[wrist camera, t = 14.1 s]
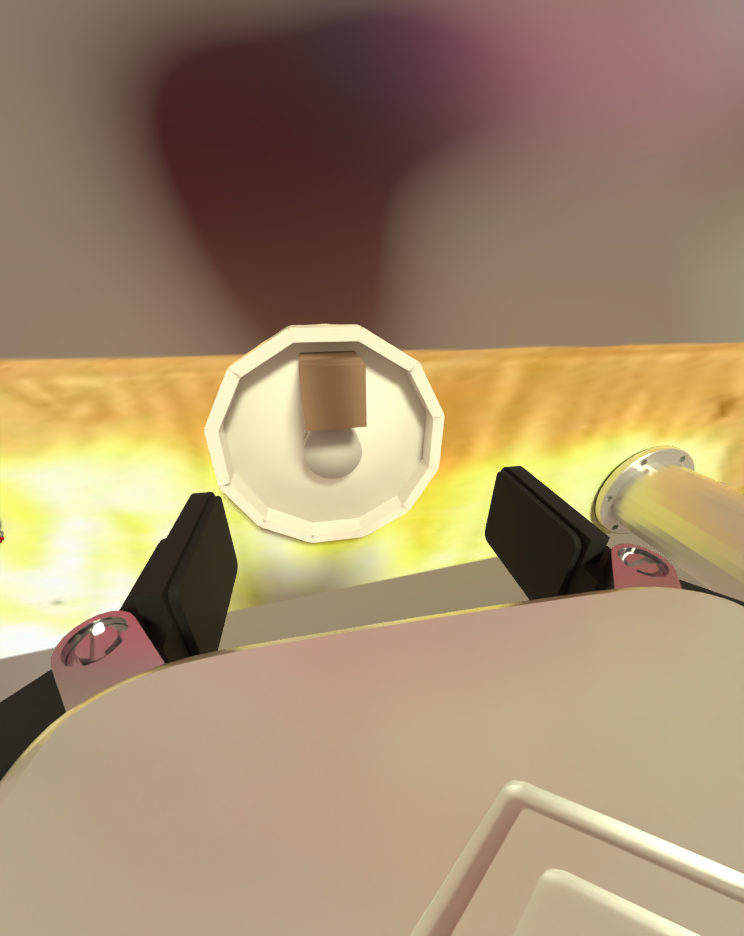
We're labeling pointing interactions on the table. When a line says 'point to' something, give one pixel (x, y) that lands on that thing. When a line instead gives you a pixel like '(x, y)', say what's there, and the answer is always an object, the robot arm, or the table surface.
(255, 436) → the dish
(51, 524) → the table surface
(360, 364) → the wooden brick
